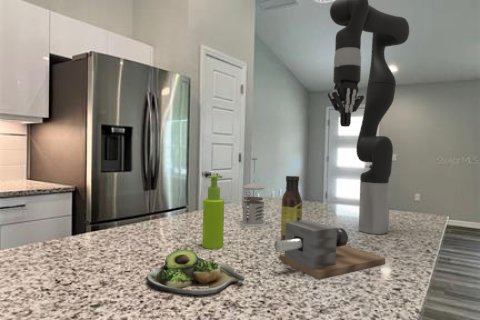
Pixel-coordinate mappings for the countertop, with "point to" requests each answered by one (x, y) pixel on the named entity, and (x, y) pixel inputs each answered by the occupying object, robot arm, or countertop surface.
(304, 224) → the bearing block
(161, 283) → the salad plate
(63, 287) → the countertop surface
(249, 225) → the french press
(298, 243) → the shaft
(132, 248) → the countertop surface
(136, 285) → the countertop surface
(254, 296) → the countertop surface
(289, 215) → the sauce bottle
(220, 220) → the soap dispenser
